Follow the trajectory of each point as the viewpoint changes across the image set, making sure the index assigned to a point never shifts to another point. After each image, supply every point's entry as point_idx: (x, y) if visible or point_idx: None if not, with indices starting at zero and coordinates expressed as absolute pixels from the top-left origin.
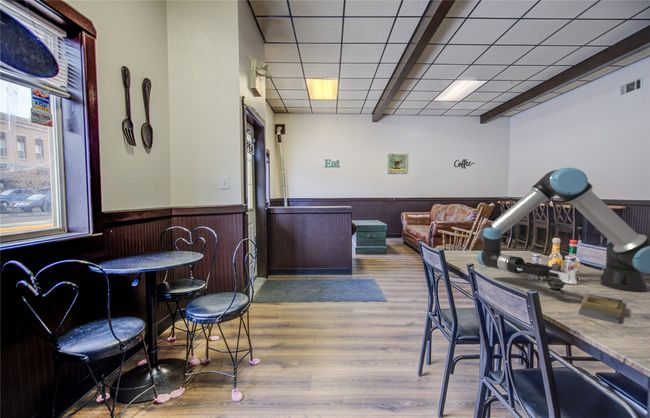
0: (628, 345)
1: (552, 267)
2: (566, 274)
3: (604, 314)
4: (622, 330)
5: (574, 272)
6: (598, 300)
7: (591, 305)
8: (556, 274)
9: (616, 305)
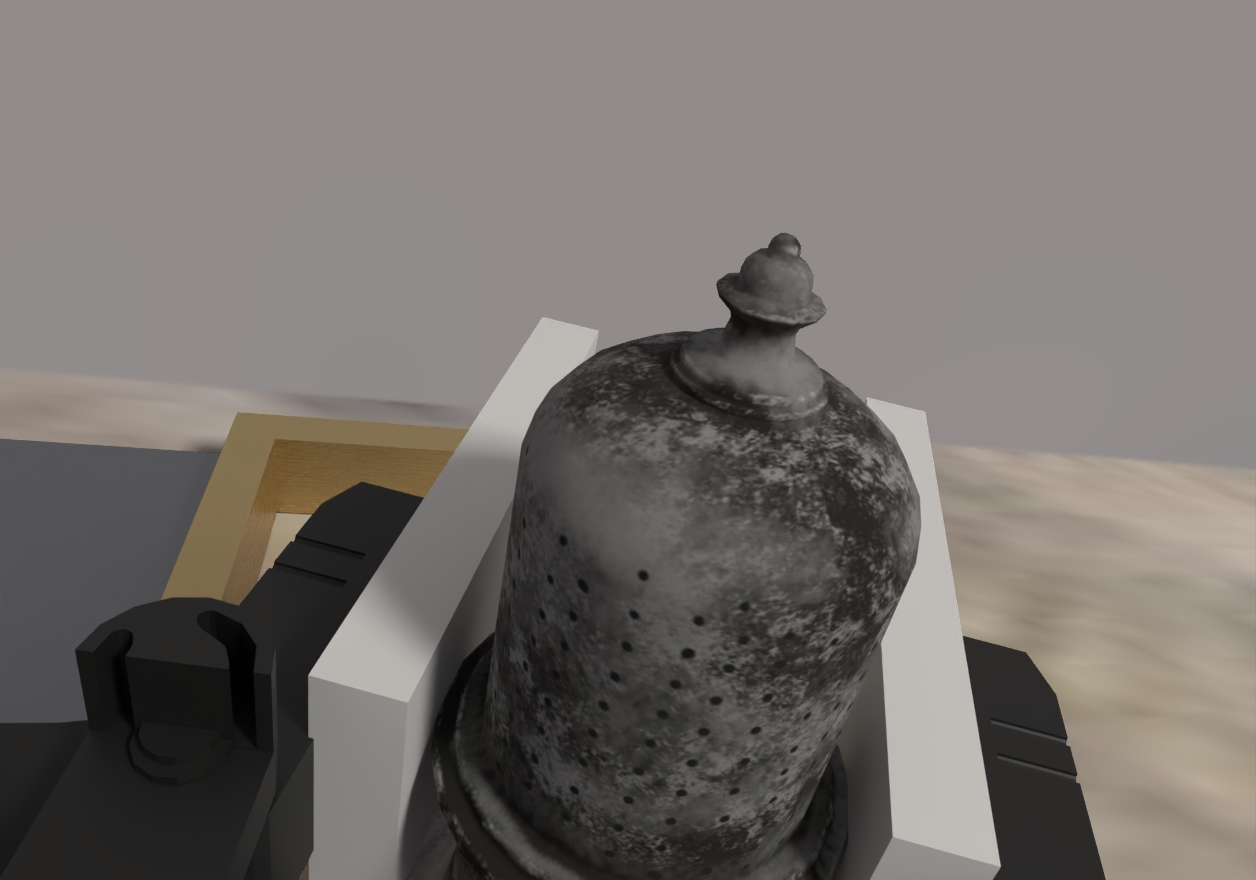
0: (1221, 507)
1: (859, 669)
2: (925, 454)
3: None
4: (968, 514)
5: (538, 332)
6: (232, 589)
7: None
8: (1029, 675)
9: (275, 483)
